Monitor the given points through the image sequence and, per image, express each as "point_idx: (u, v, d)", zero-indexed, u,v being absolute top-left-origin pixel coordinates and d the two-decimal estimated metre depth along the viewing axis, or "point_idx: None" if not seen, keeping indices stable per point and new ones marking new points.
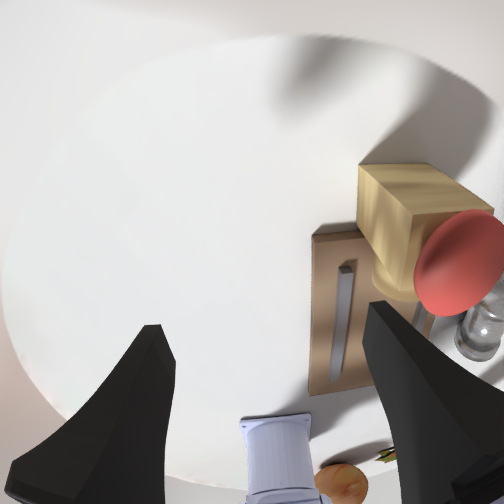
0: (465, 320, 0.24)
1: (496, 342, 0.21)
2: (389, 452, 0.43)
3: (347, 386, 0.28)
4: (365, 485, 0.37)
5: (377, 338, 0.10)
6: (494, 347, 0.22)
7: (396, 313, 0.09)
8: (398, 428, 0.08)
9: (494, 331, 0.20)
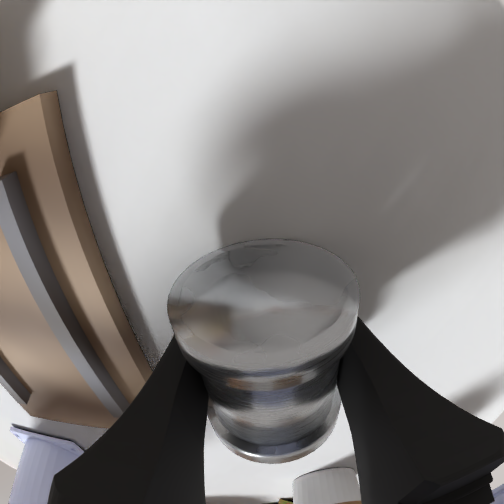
0: None
1: (290, 431, 0.09)
2: None
3: (65, 418, 0.15)
4: None
5: None
6: (295, 439, 0.09)
7: None
8: (358, 438, 0.08)
9: (245, 405, 0.08)
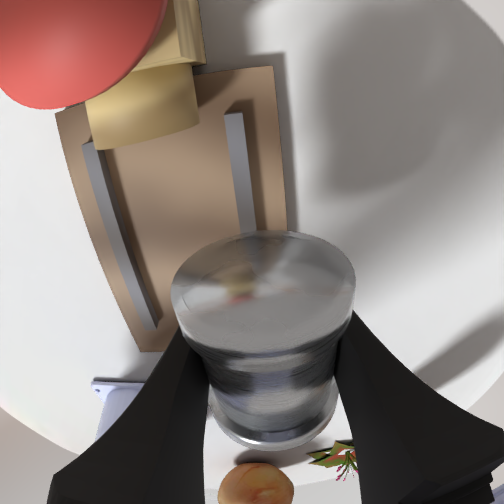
0: None
1: (281, 418, 0.09)
2: (325, 455, 0.36)
3: None
4: (285, 493, 0.30)
5: (338, 345, 0.10)
6: (287, 428, 0.09)
7: (357, 319, 0.09)
8: (358, 438, 0.08)
9: (236, 387, 0.08)
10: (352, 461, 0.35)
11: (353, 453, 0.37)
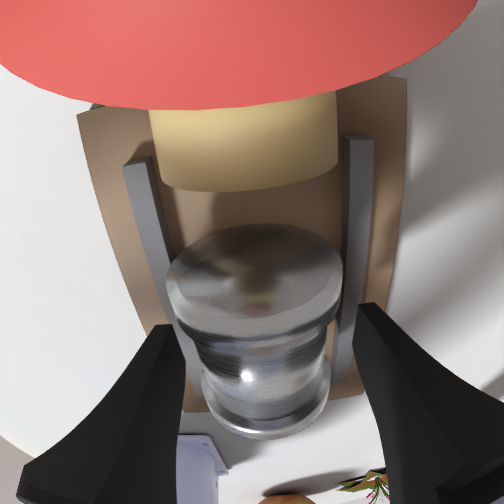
0: None
1: (266, 407, 0.09)
2: (355, 482, 0.32)
3: None
4: None
5: (365, 340, 0.10)
6: (272, 417, 0.10)
7: (384, 315, 0.09)
8: (386, 431, 0.08)
9: (222, 371, 0.09)
10: (382, 487, 0.31)
11: (382, 478, 0.33)
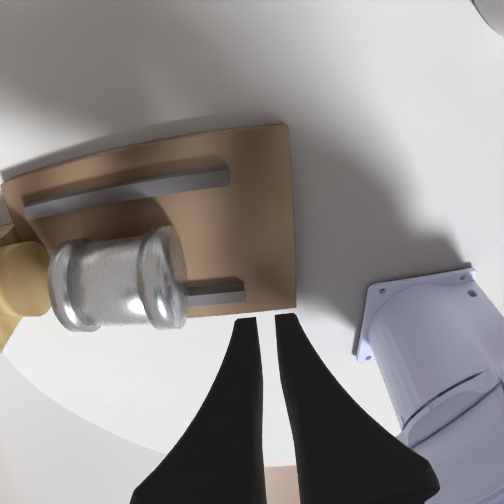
0: None
1: (130, 314, 0.14)
2: None
3: (283, 259, 0.18)
4: None
5: (279, 353, 0.10)
6: (143, 311, 0.14)
7: (296, 328, 0.09)
8: (296, 449, 0.08)
9: (108, 325, 0.15)
10: None
11: None
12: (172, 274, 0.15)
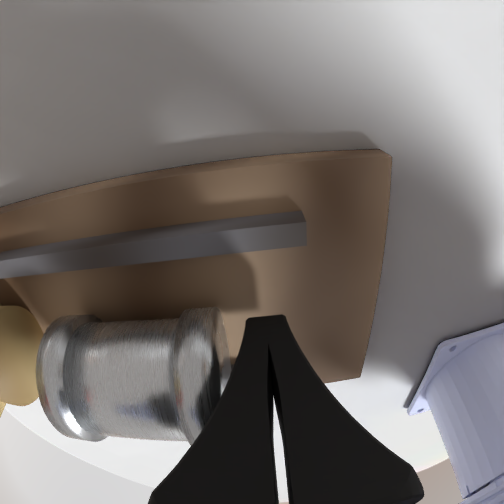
0: None
1: (165, 438, 0.09)
2: None
3: (357, 329, 0.13)
4: None
5: None
6: (185, 438, 0.09)
7: (285, 329, 0.09)
8: (284, 450, 0.08)
9: None
10: None
11: None
12: (220, 382, 0.10)
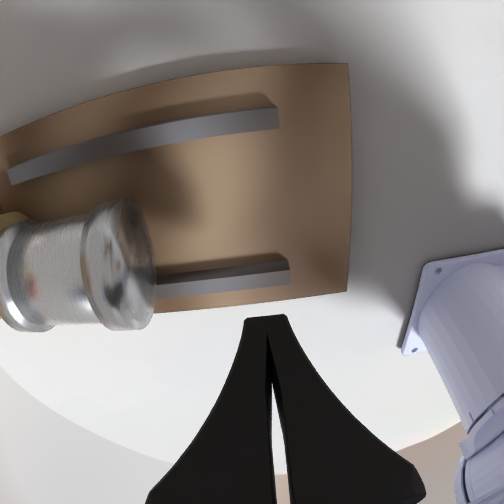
0: None
1: (78, 313, 0.10)
2: None
3: (337, 229, 0.14)
4: None
5: (269, 354, 0.10)
6: (93, 310, 0.10)
7: (286, 329, 0.09)
8: (285, 450, 0.08)
9: (60, 324, 0.11)
10: None
11: None
12: (127, 260, 0.11)
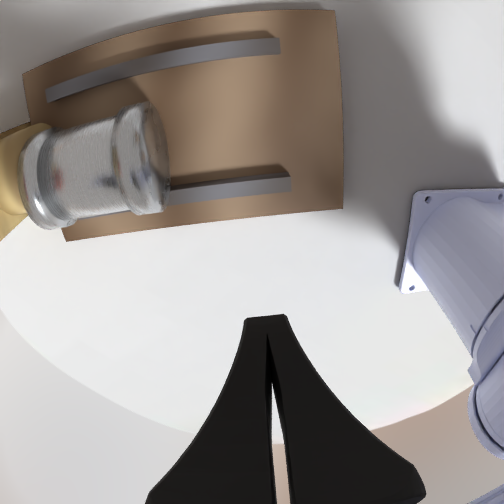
0: None
1: (100, 190, 0.12)
2: None
3: (331, 144, 0.16)
4: None
5: (269, 354, 0.10)
6: (115, 184, 0.12)
7: (286, 329, 0.09)
8: (285, 450, 0.08)
9: (78, 213, 0.13)
10: None
11: None
12: (150, 148, 0.12)
